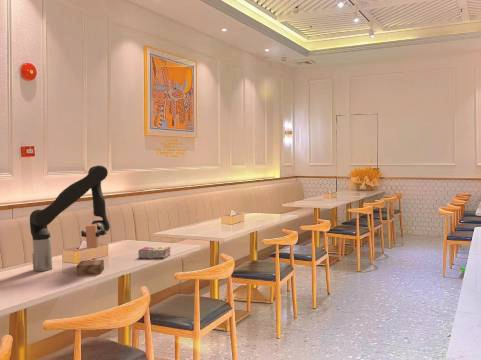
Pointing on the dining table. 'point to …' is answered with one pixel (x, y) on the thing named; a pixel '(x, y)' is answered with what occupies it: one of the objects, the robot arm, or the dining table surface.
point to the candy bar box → (154, 252)
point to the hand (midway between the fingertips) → (90, 235)
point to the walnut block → (90, 267)
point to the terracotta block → (91, 236)
